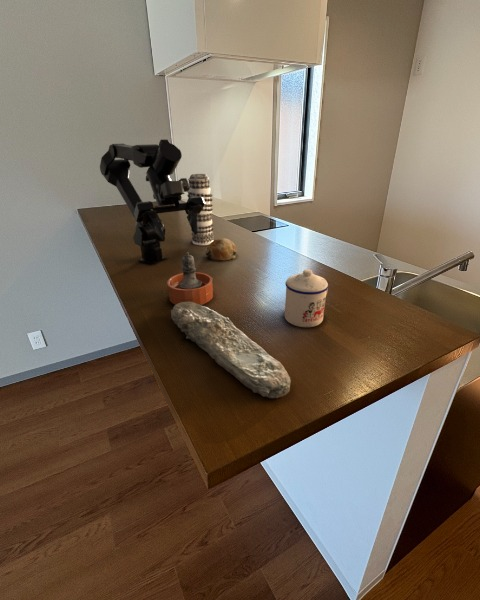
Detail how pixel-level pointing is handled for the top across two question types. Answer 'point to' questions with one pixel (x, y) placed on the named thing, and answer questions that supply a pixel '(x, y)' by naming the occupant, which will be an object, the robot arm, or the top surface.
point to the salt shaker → (189, 274)
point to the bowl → (190, 290)
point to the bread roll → (221, 250)
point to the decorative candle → (204, 221)
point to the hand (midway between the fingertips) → (180, 236)
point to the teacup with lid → (305, 299)
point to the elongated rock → (232, 349)
